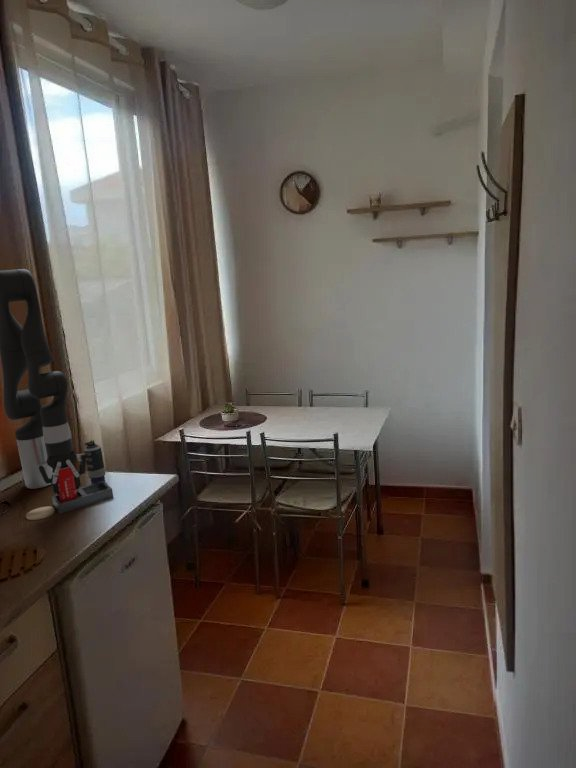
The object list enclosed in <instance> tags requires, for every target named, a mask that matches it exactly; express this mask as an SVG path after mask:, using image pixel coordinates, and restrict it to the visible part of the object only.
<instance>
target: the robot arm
mask: <svg viewBox="0 0 576 768" xmlns="http://www.w3.org/2000/svg"><path fill="white" fill-rule="evenodd" d="M20 301H21V302H23V301H25V302H26V308H27V314H26V317H25V321H24V324H23V325H22V324H21V323H20V322H19V321H18V320H17V319H16V318H15V316H14V314H12V312H11V309H10V306H9V305H10V303H12V302H20ZM0 361H1V369H2V376H3V379H2V381H3V407H4V411H5V412H4V413H5V415H6V417H7V418H8V419H9V420H11V421H16V420H22V419H25V418H26V419H27V418H29V417H30V419H29V420H28V421H27V423H25V424H23V425H22V426H21V427H19V428H17V429H16V430H15V433H14V436H15V440H16V444H17V448H18V450H17V451H18V454H19V459H20V464H21V469H22V475H23V479H24V483H25V488H26V487H27V488H26V489H28V488H29V489H30V490H31V489H32V490H34V489H41V488H45V487H47V486H50V485H51V486H52V491H53V493H54V494H55V495H56V494H57V495H59V494H60V493H59V488H58V483H57V477H58V475H59V474H58V471H59V469H60V468H63V467H68V466H70V468H72V472H73V474H74V477H75V483H76V489H79V488H81V487H82V486H81V485H82V484H81V478H80V476H81V475H83V474H85V473H86V466H87V465H86V455H85V453H83V452H82V453H78V454H77V453H75V449H74V444H73V438H72V431H71V427H70V425H69V420H68V416H67V409H66V408H67V407H66V405H67V392H68V386H69V385H68V384H69V382H68V377H66V375H65V374H64V373H63V372H62V371H59V370H55V371H48V372H45V373H40V369H42V368H44V367H46V366H48V365H50V364H52V362H53V354H52V351H51V349H50V346H49V341H48V339H47V336H46V333H45V329H44V323H43V316H42V311H41V306H40V301H39V295H38V291H37V287H36V283H35V279H34V277H33V274H32V272H31V271H30V270H28V269H26V268H21V269H20V268H18V269H17V268H16V269H5V270H3V269H2V270H0ZM26 372H27V377H28V378H27V389H21V390H18V387H19V383H20V382H21V379H22V378H23V376H24V374H25V373H26ZM50 397H52V400H51V401H50V402H48V403H47V404H45V405H42V400H41V399H45V398H50ZM76 460H77V462H78V461H79V466H78V469H76V467H75V466H74V464H75V461H76ZM54 470H55V471H54Z"/></svg>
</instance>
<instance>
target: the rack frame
mask: <svg viewBox="0 0 576 768" xmlns="http://www.w3.org/2000/svg"><path fill="white" fill-rule="evenodd" d="M77 494H78V497H77V498H74V499H70V500H67V501H64V502H60V498H59V495H57V494H56V493H55V494H53V495H51V498H52V503H53V504H52V505H53V507H54V508H55V510H56V511H57V512H58V514H59V515H61V514H65V513H68V512H71V511H74V510H77V509H81V508H83V507H84V508H85V507H87V506H90V505H94V504H97V503H100V502H103V501H107V500H110V499H113V498H114V492H113V488H112V487H111V486H110V485H109V484H107V482H106V481H105V482H104V481H102V482H98V483H95V484H91V483H90V484H88V485H86V486H80V487H79V489H77Z"/></svg>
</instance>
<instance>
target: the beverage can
mask: <svg viewBox="0 0 576 768" xmlns="http://www.w3.org/2000/svg"><path fill="white" fill-rule="evenodd" d="M54 471H55V470H54ZM58 474H59V475H58V477H57V483H58V488H59V493H60V494H59V498H60V502H64V501H67V500H70V499H74V498H77V497H78V494H77V489H76V483H75V477H74V474H73V472H72V468H70V466H68V467H63V468H60V469H59V471H58Z"/></svg>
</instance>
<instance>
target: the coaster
mask: <svg viewBox="0 0 576 768" xmlns="http://www.w3.org/2000/svg"><path fill="white" fill-rule="evenodd" d="M55 512H56V508H55V506H41V507H38V508H37V507H36V508H34V509H32V510H30V511H29V512H27V513H26V514H25V518H26V520H29V521H37V520H38V521H39V520H42V519H46V518H48V517H50V516H52V515H54V513H55Z"/></svg>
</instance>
